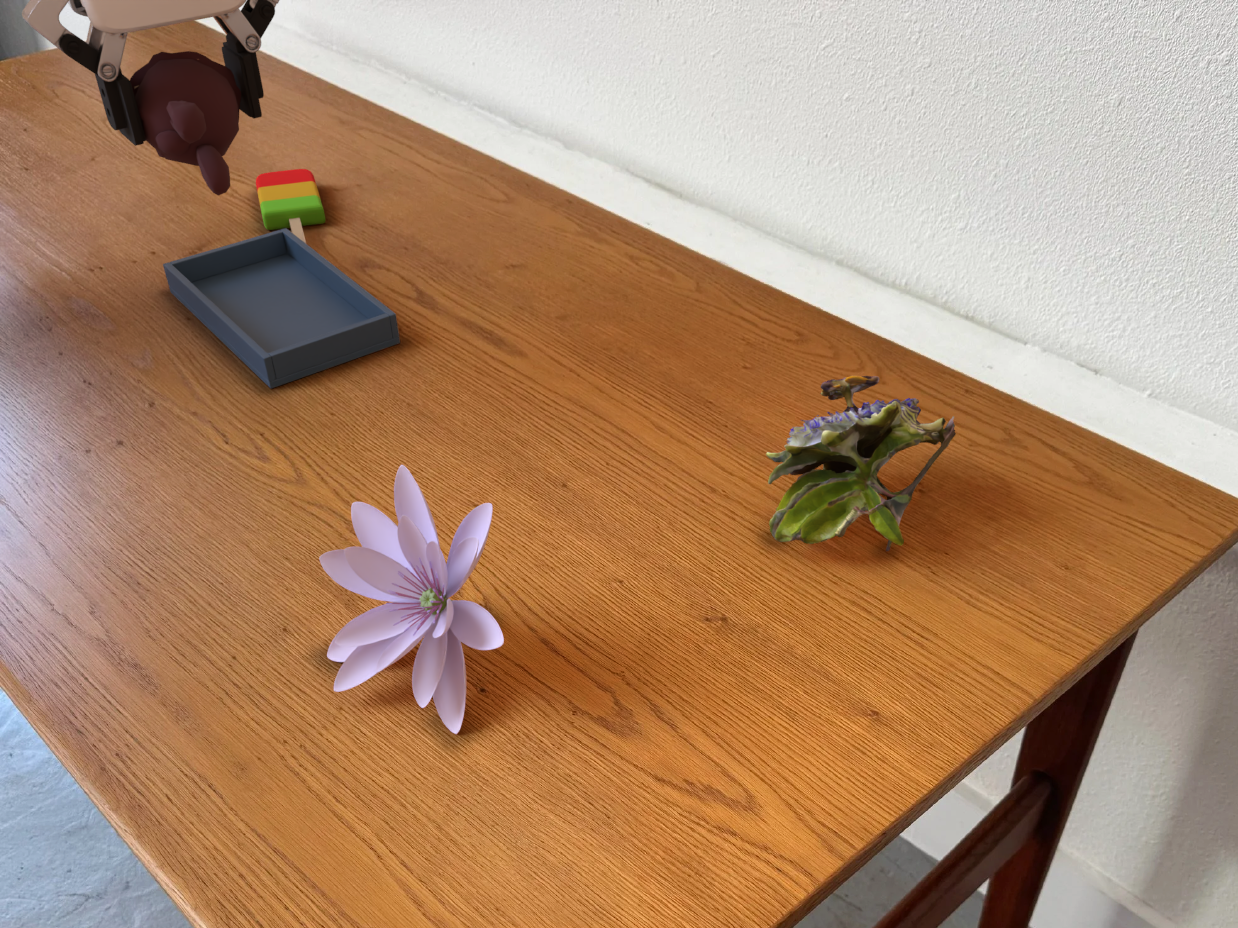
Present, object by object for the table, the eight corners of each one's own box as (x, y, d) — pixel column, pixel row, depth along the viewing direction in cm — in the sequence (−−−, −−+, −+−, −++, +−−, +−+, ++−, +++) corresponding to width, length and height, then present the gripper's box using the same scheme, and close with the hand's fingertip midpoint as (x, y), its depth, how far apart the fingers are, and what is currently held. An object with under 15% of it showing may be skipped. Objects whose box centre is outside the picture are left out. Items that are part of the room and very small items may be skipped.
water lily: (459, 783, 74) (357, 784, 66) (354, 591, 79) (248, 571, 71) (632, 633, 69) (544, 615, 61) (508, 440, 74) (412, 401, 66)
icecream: (89, 29, 81) (116, 132, 72) (195, -12, 82) (234, 85, 73) (143, 125, 86) (174, 232, 77) (241, 86, 87) (284, 188, 78)
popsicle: (315, 184, 120) (311, 165, 119) (334, 252, 110) (330, 232, 108) (257, 191, 119) (253, 172, 117) (271, 261, 108) (266, 240, 107)
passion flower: (825, 546, 88) (906, 392, 85) (923, 612, 80) (1017, 445, 77) (710, 503, 81) (793, 334, 78) (804, 571, 73) (902, 385, 70)
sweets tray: (270, 389, 93) (263, 358, 91) (170, 292, 104) (162, 263, 102) (400, 343, 98) (396, 313, 96) (291, 255, 109) (286, 227, 107)
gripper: (235, -225, 74) (290, 81, 86) (-69, -196, 66) (38, 136, 79) (289, -206, 70) (339, 114, 82) (-30, -172, 62) (77, 175, 74)
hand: (191, 122), depth 80 cm, fingers closed on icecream, 7 cm apart
